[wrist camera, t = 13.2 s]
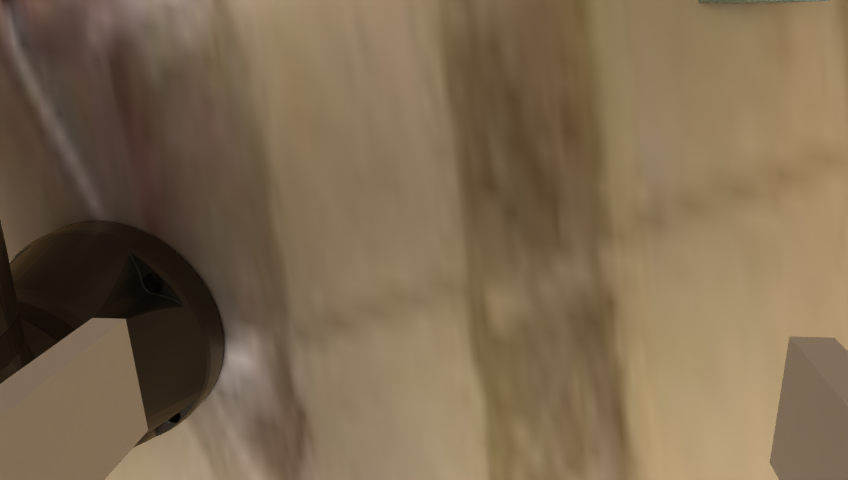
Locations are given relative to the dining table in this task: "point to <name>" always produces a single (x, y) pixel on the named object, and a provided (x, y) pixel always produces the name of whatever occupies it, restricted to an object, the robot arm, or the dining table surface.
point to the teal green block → (753, 1)
